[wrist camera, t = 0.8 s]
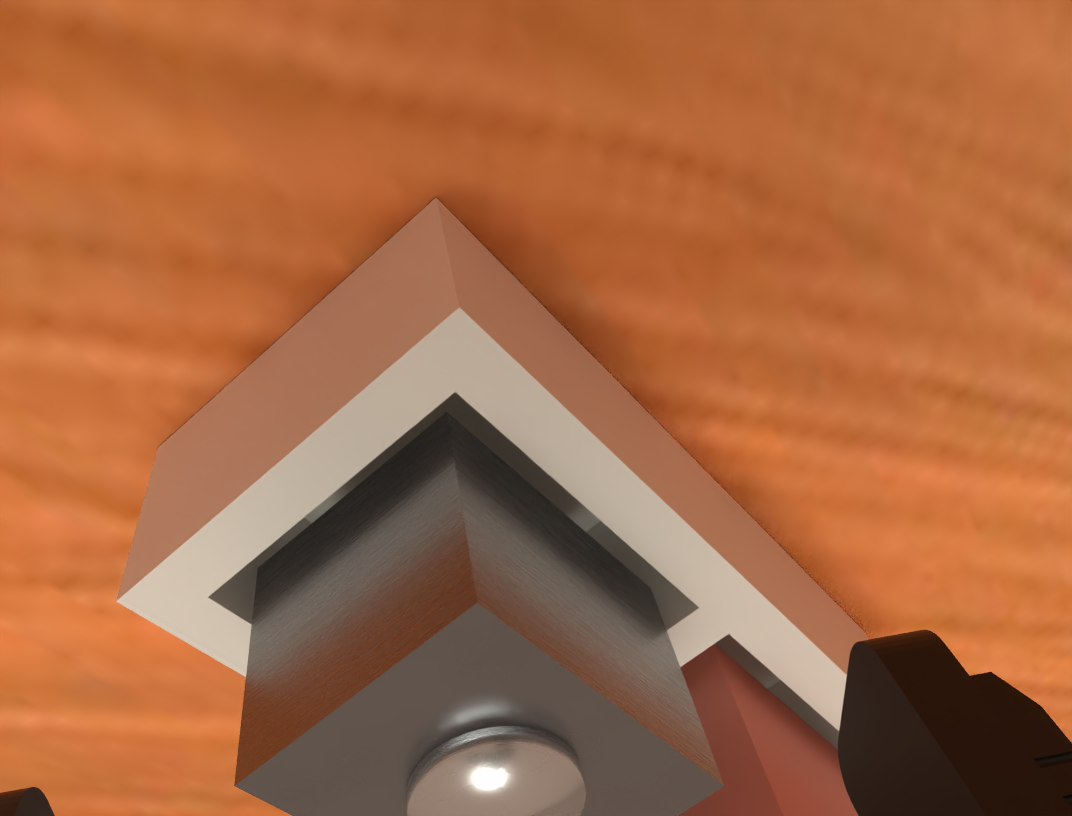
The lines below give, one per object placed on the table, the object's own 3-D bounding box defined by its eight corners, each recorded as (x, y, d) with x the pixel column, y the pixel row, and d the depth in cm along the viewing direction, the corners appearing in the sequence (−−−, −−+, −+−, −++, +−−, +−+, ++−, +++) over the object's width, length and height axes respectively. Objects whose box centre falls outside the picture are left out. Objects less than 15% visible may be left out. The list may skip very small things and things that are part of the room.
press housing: (435, 197, 29) (459, 307, 23) (864, 631, 42) (948, 771, 36) (158, 447, 32) (116, 601, 26) (638, 780, 45) (682, 932, 39)
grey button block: (446, 411, 26) (480, 624, 19) (650, 588, 30) (732, 807, 24) (257, 567, 27) (231, 810, 21) (477, 712, 32) (510, 947, 25)
